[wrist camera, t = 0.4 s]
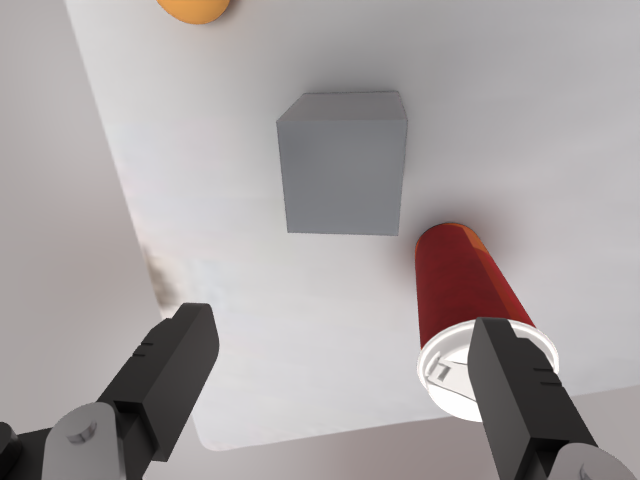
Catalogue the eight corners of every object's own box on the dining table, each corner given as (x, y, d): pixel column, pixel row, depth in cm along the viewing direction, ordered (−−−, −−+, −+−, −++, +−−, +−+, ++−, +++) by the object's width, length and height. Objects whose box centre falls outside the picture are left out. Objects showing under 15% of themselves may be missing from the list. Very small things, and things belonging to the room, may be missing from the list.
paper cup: (391, 272, 34) (400, 408, 22) (421, 201, 29) (452, 321, 18) (471, 293, 34) (524, 440, 22) (512, 225, 30) (604, 360, 18)
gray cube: (304, 93, 26) (276, 121, 19) (398, 91, 25) (407, 119, 18) (309, 180, 30) (287, 232, 22) (391, 180, 29) (398, 235, 21)
